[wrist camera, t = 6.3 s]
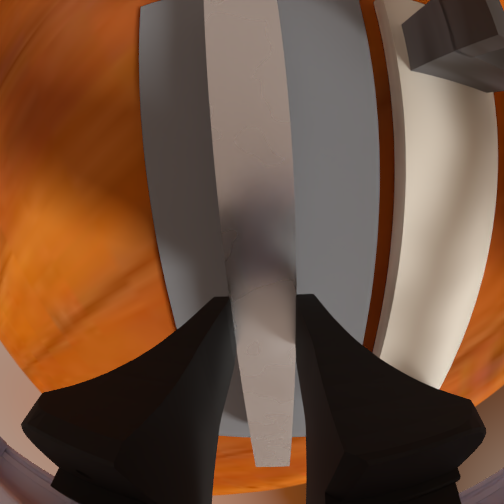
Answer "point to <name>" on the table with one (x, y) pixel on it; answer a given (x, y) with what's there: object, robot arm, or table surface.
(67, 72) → the table surface
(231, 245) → the rail
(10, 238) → the table surface
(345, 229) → the mat
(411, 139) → the hook stand
